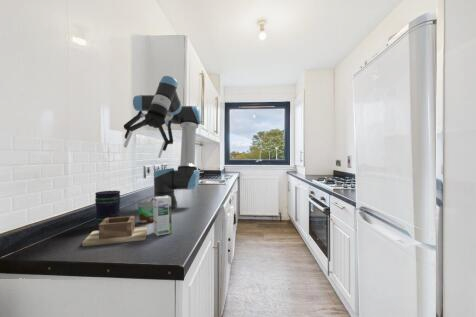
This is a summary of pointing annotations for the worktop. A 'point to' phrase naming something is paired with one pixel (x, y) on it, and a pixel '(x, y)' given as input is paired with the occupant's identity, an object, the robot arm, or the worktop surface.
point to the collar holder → (116, 231)
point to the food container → (146, 212)
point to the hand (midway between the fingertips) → (142, 151)
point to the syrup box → (162, 215)
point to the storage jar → (107, 205)
